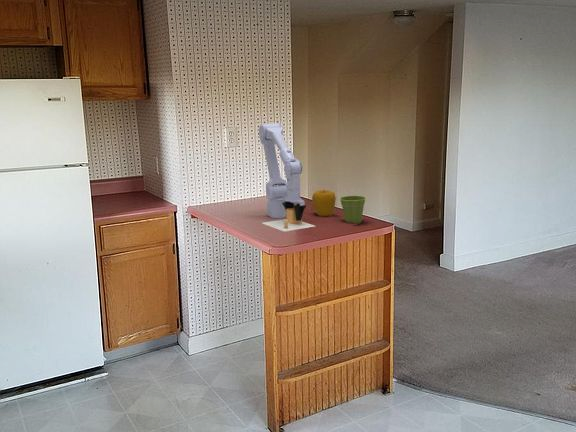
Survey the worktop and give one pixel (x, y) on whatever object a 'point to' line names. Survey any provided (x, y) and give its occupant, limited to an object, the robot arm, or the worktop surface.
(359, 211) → the plant pot
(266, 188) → the robot arm
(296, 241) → the worktop surface
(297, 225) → the plate
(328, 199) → the apple
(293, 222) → the wooden toy cube
